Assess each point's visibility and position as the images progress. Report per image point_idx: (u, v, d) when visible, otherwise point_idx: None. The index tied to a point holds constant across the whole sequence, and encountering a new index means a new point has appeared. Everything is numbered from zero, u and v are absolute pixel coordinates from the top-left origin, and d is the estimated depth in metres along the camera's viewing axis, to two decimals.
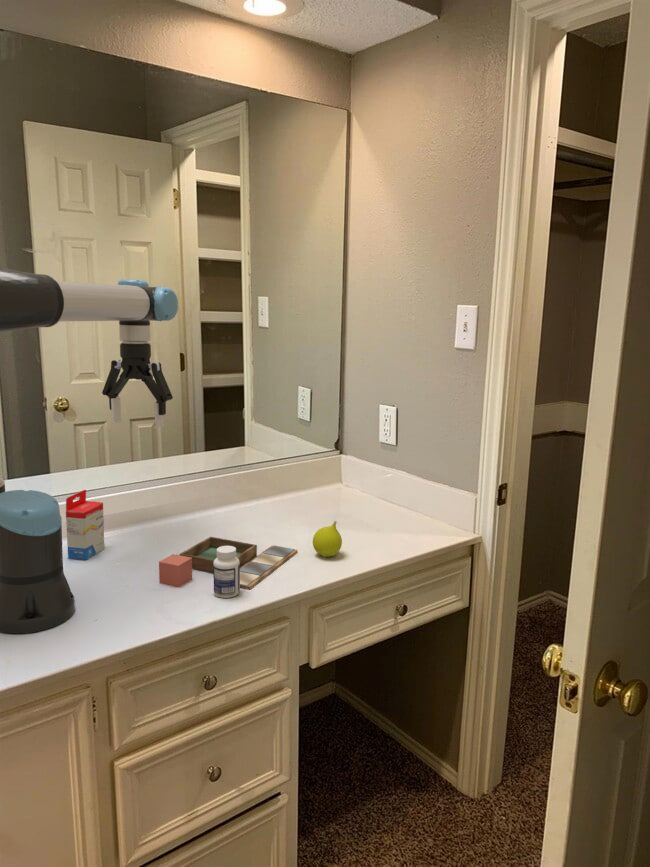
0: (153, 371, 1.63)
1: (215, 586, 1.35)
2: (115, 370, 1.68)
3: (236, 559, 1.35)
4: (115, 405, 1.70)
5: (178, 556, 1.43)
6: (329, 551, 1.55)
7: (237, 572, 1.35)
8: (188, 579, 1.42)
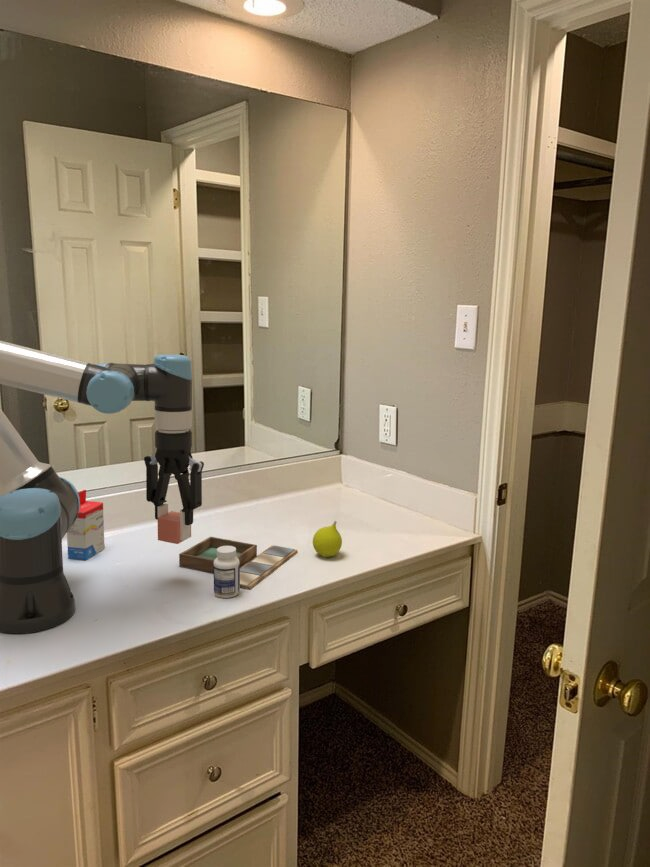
0: (192, 472, 1.34)
1: (215, 586, 1.35)
2: (151, 467, 1.38)
3: (236, 559, 1.35)
4: (162, 514, 1.40)
5: (177, 513, 1.41)
6: (329, 551, 1.55)
7: (237, 572, 1.35)
8: None
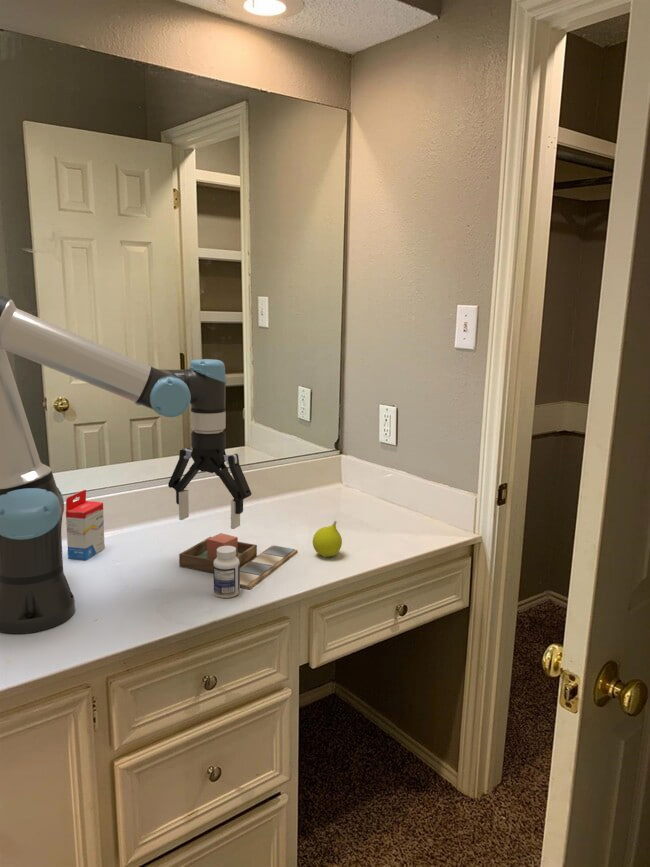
0: (230, 465, 1.42)
1: (215, 586, 1.35)
2: (184, 460, 1.47)
3: (236, 559, 1.35)
4: (183, 499, 1.49)
5: None
6: (329, 551, 1.55)
7: (237, 572, 1.35)
8: None
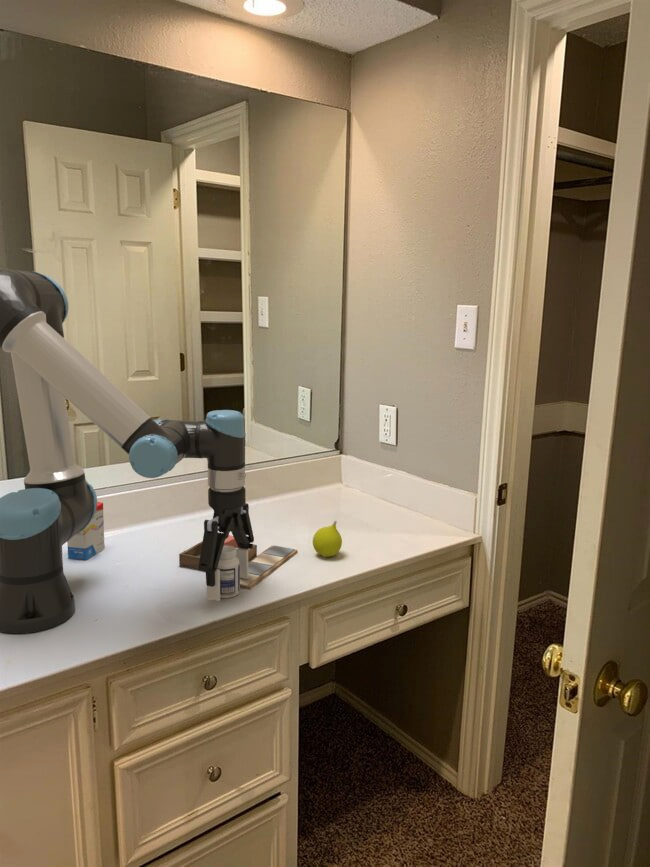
0: None
1: None
2: None
3: (236, 559, 1.35)
4: (238, 557, 1.41)
5: None
6: (330, 551, 1.55)
7: (237, 572, 1.35)
8: None
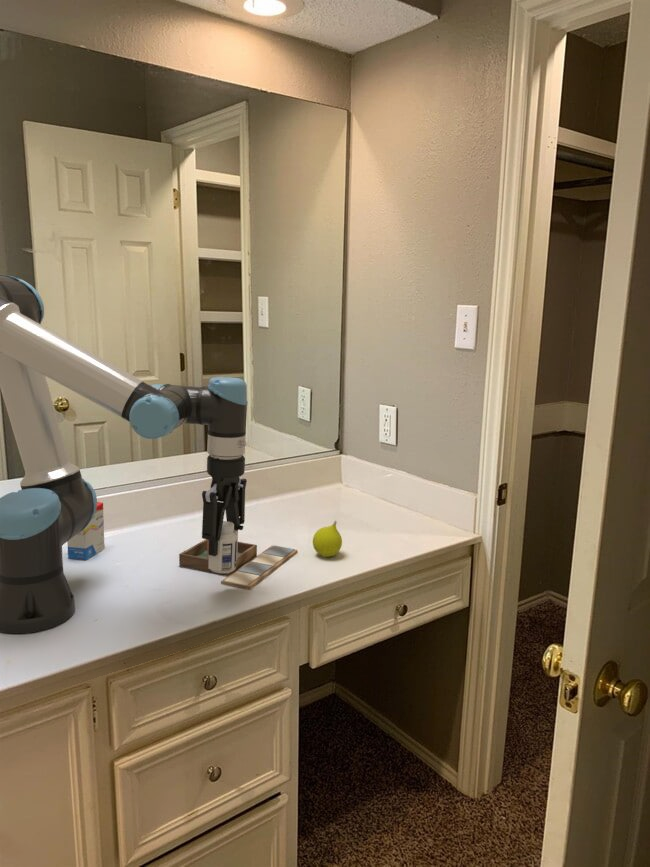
0: None
1: None
2: None
3: (234, 535, 1.34)
4: None
5: None
6: (330, 551, 1.55)
7: (234, 548, 1.34)
8: None
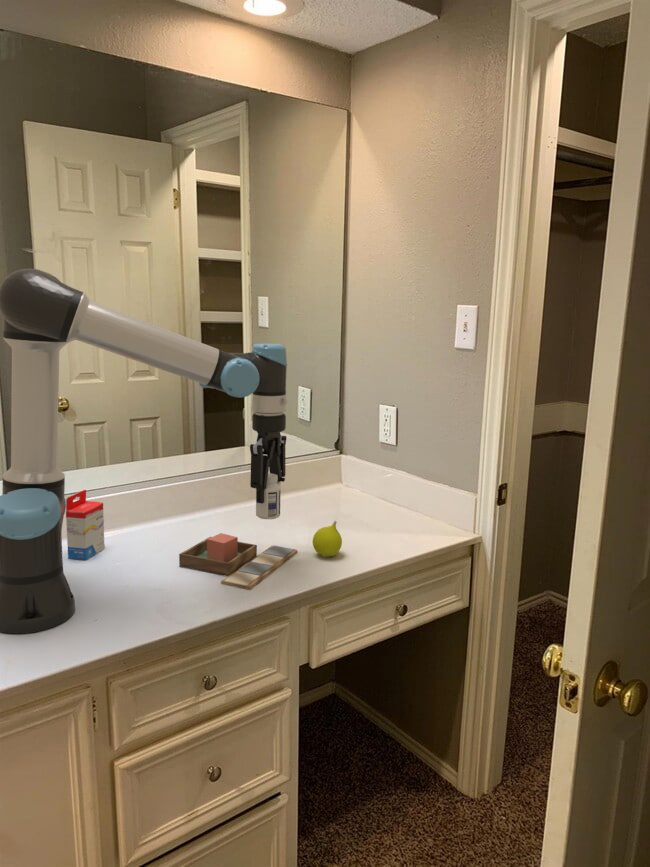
0: None
1: None
2: None
3: (277, 485, 1.50)
4: None
5: None
6: (330, 551, 1.55)
7: (278, 496, 1.49)
8: (225, 557, 1.51)
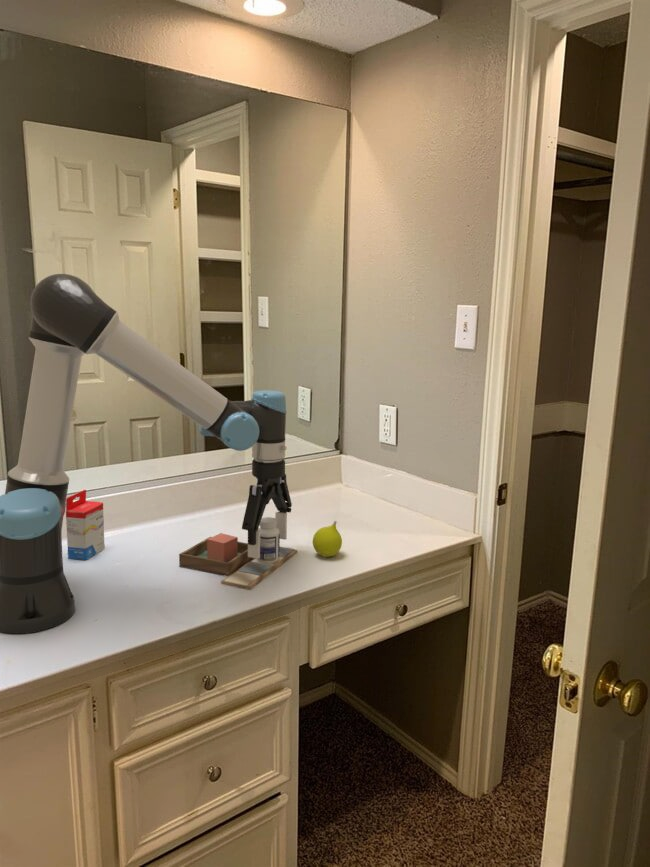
0: None
1: None
2: None
3: (277, 529, 1.52)
4: (278, 520, 1.58)
5: None
6: (330, 551, 1.55)
7: (277, 540, 1.51)
8: (225, 557, 1.51)
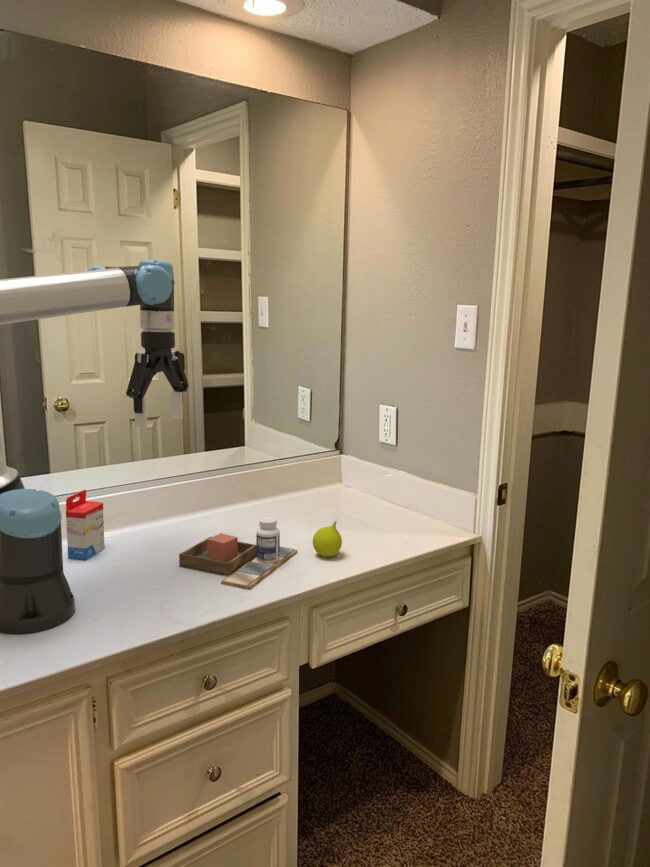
0: None
1: (258, 553, 1.51)
2: (170, 361, 1.56)
3: (277, 529, 1.52)
4: (173, 399, 1.58)
5: None
6: (330, 551, 1.55)
7: (277, 540, 1.51)
8: (225, 557, 1.51)
